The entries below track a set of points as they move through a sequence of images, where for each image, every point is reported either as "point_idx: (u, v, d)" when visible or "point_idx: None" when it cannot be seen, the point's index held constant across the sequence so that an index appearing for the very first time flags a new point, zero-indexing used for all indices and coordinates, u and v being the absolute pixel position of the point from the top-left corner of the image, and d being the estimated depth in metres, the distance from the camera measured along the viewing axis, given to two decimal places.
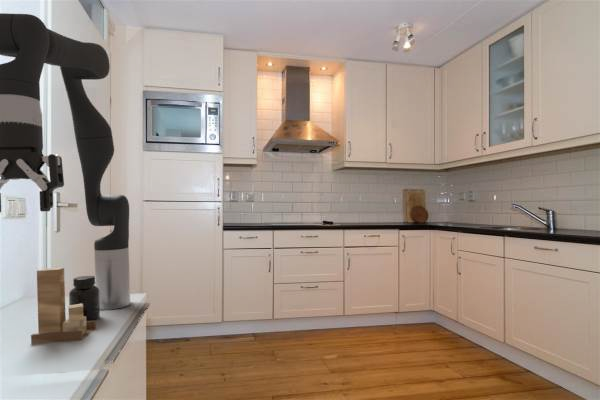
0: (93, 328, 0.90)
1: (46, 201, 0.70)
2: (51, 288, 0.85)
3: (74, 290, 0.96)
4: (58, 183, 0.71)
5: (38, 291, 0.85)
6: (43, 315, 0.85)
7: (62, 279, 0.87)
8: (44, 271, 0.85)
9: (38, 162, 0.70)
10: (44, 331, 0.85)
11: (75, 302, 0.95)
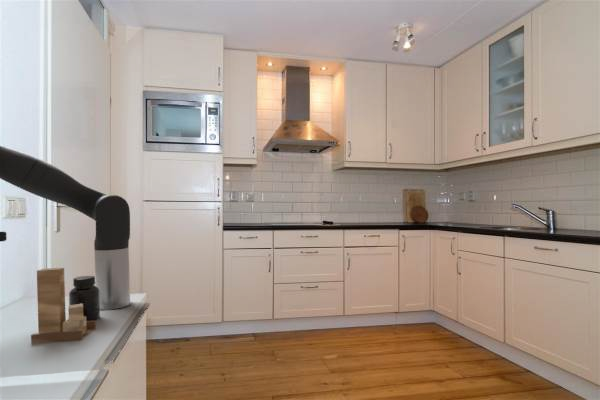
0: (93, 328, 0.90)
1: None
2: (51, 288, 0.85)
3: (74, 290, 0.96)
4: None
5: (38, 291, 0.85)
6: (43, 315, 0.85)
7: (62, 279, 0.87)
8: (44, 271, 0.85)
9: None
10: (44, 331, 0.85)
11: (75, 302, 0.95)
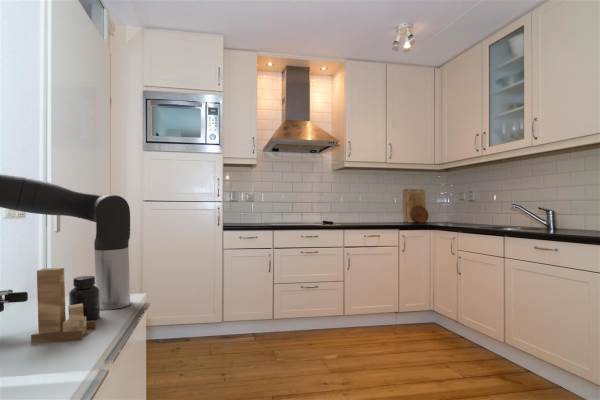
0: (93, 328, 0.90)
1: None
2: (51, 288, 0.85)
3: (74, 290, 0.96)
4: None
5: (38, 291, 0.85)
6: (43, 315, 0.85)
7: (62, 279, 0.87)
8: (44, 271, 0.85)
9: None
10: (44, 331, 0.85)
11: (75, 302, 0.95)
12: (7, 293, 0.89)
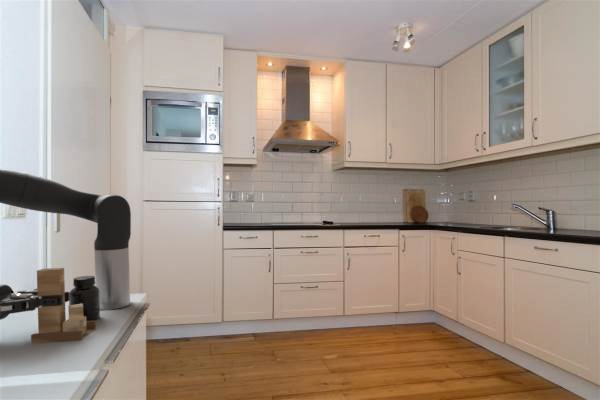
0: (93, 328, 0.90)
1: (52, 304, 0.84)
2: (51, 288, 0.85)
3: (74, 290, 0.96)
4: (30, 308, 0.81)
5: (38, 291, 0.85)
6: (43, 315, 0.85)
7: (62, 279, 0.87)
8: (44, 271, 0.85)
9: None
10: (44, 331, 0.85)
11: (75, 302, 0.95)
12: None
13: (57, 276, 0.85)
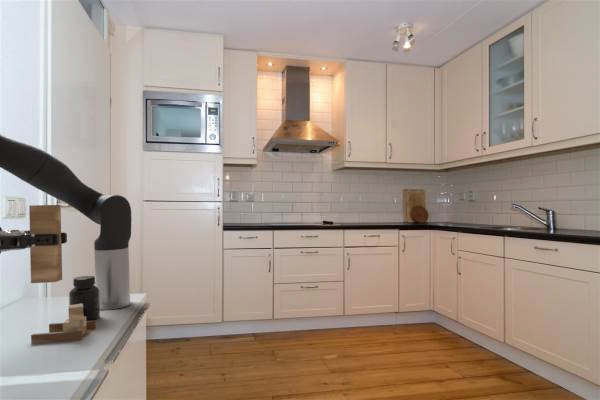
0: (93, 328, 0.90)
1: (46, 243, 0.74)
2: (45, 226, 0.74)
3: (74, 290, 0.96)
4: (21, 246, 0.71)
5: (31, 229, 0.74)
6: (36, 256, 0.74)
7: (58, 217, 0.76)
8: (38, 206, 0.74)
9: None
10: (37, 274, 0.74)
11: (75, 302, 0.95)
12: None
13: (52, 212, 0.75)
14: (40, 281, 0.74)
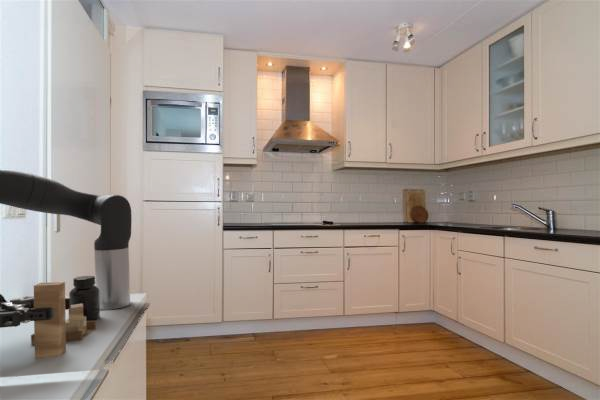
0: (93, 328, 0.90)
1: (40, 319, 0.72)
2: (49, 306, 0.74)
3: (74, 290, 0.96)
4: (14, 324, 0.69)
5: None
6: (40, 336, 0.74)
7: (62, 295, 0.76)
8: (42, 286, 0.74)
9: None
10: (41, 354, 0.74)
11: (75, 302, 0.95)
12: None
13: (57, 292, 0.74)
14: None
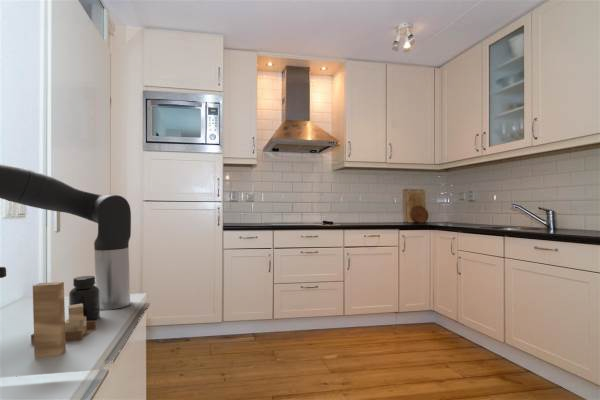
0: (93, 328, 0.90)
1: None
2: (48, 306, 0.74)
3: (74, 290, 0.96)
4: None
5: (34, 309, 0.74)
6: (40, 336, 0.74)
7: (61, 295, 0.76)
8: (41, 286, 0.74)
9: None
10: (41, 355, 0.74)
11: (75, 302, 0.95)
12: None
13: (56, 292, 0.75)
14: None
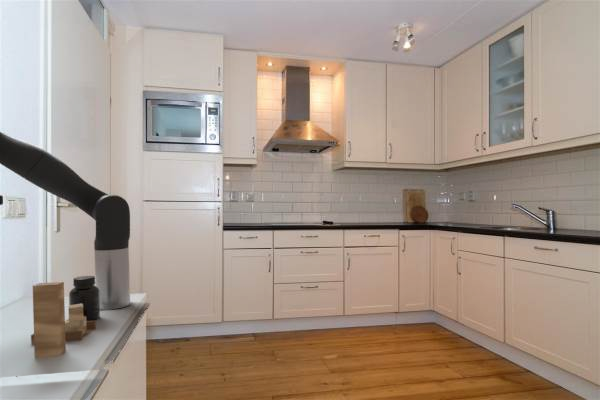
0: (93, 328, 0.90)
1: None
2: (48, 306, 0.74)
3: (74, 290, 0.96)
4: None
5: (34, 309, 0.74)
6: (40, 336, 0.74)
7: (61, 295, 0.76)
8: (41, 286, 0.74)
9: None
10: (41, 355, 0.74)
11: (75, 302, 0.95)
12: None
13: (56, 292, 0.75)
14: None
